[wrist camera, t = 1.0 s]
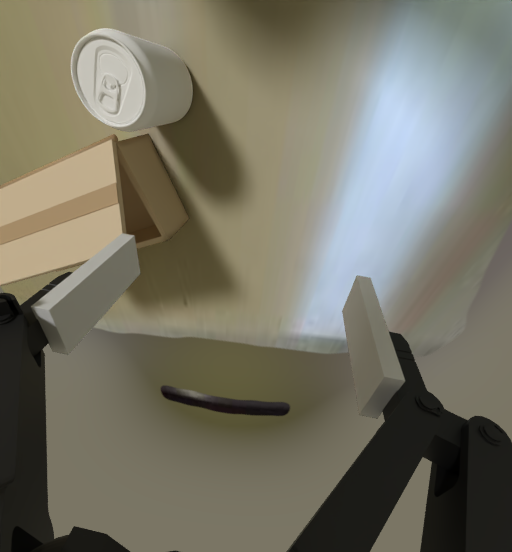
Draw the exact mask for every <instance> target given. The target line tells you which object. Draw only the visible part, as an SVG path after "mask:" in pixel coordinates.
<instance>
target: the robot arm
mask: <svg viewBox="0 0 512 552" xmlns="http://www.w3.org/2000/svg"><path fill="white" fill-rule="evenodd" d="M139 275H140V267H139V260H138V254H137V248H136V242H135V236H134V235H129V234H123V233H122V234H121V235H119V236H118V237H117V238H116V239H114V240H113V241H112V242H111V243H109V244H108V245H107V246H106V247H104V248H103V249H102V250H101V251H99V252H98V253H97V254H96V255H94V256H93V257H92V258H91V259H89V260H88V261H87V262H86V263H84V264H83V265H82V266H81V267H79V268H78V269H77V270H76V271H75V272H67V273H65V274H63V275H61V276H58V277H57V278H55V279H54V280H53V281H52V282H50V283H49V285H46V286H45V287H44V288H42V290H40V291H39V292H37V293H36V294H35V295H33V296H32V297H31V298H29V299H28V300H27V301H26V302H24V303H23V304H22V305H19V303H18V301H17V299H16V298H15V296H14V295H12V294H9V293H0V552H130V551H129V550H127V549H126V548H125V547H123V546H122V545H120V544H119V543H118V542H116V541H115V540H114V539H112V538H111V537H110V536H108V535H107V534H104V533H100V532H96V531H92V530H88V529H83V528H79V527H75V526H74V527H73V529H72V531H71V533H70V535H66V536H62V537H58V538H56V539H54V532H53V527H52V523H51V520H50V517H49V512H48V492H47V446H46V400H45V357H44V356H45V354H44V352H43V350H42V349H43V348H44V347H45V346H46V345H47V344H48V343H49V345H50V347H51V349H52V351H53V352H57V353H62V354H67V355H69V354H70V353H71V352H72V350H73V349H74V348H75V347H76V346H77V345H78V343H80V341H81V340H82V339H83V338H84V337H85V336H86V335H87V333H88V332H89V331H90V330H91V329H92V328H93V327H94V326H95V324H96V323H97V322H98V321H99V320H100V319H101V318H102V316H103V315H104V314H105V313H106V312H107V311H108V310H109V309H110V307H111V306H112V305H113V304H114V303H115V302H116V301H117V299H118V298H119V297H120V296H121V295H122V294H123V293H124V292H125V290H126V289H127V288H128V287H129V286H130V285H131V284H132V282H133V281H134V280H135V279H136V278H137V277H138V276H139ZM342 312H343V319H344V325H345V331H346V337H347V343H348V349H349V355H350V361H351V368H352V373H353V380H354V386H355V392H356V398H357V404H358V411H359V415H362V416H367V417H372V418H376V419H377V418H378V417H379V416H380V414H381V413H382V412H383V415H384V419H385V422H384V423H383V425H382V426H381V427H380V428H379V430H378V431H377V432H376V434H375V435H374V436H373V438H372V439H371V441H370V442H369V443H368V444H367V446H366V447H365V448H364V450H363V451H362V452H361V454H360V455H359V456H358V458H357V459H356V460H355V462H354V463H353V464H352V466H351V467H350V468H349V470H348V471H347V472H346V474H345V475H344V476H343V478H342V479H341V480H340V481H339V483H338V484H337V485H336V487H335V488H334V490H333V491H332V492H331V493H330V495H329V496H328V497H327V499H326V500H325V501H324V503H323V504H322V505H321V507H320V508H319V509H318V511H317V512H316V513H315V515H314V516H313V517H312V519H311V520H310V521H309V523H308V524H307V525H306V527H305V528H304V529H303V531H302V532H301V533H300V535H299V536H298V537H297V539H296V540H295V541H294V542H293V544H292V545H291V547H290V548H289V549H288V550H287V552H370V550H371V548H372V546H373V544H374V543H375V541H376V539H377V538H378V536H379V534H380V532H381V530H382V529H383V527H384V525H385V523H386V521H387V520H388V518H389V516H390V514H391V512H392V510H393V509H394V507H395V505H396V503H397V502H398V500H399V498H400V496H401V495H402V493H403V491H404V489H405V487H406V486H407V484H408V482H409V480H410V478H411V477H412V475H413V473H414V471H415V469H416V468H417V466H418V464H419V462H420V460H421V459H422V457H424V458H426V459H428V460H430V461H432V466H431V474H430V481H429V489H428V496H427V504H426V512H425V519H424V527H423V535H422V543H421V550H420V552H512V442H511V440H510V438H509V437H508V436H507V434H506V433H505V431H504V430H503V429H502V428H500V426H498V425H497V424H496V423H494V422H493V421H491V420H490V419H487V418H485V417H482V416H474V417H472V418H470V419H469V420H466V419H464V418H461V417H459V416H457V415H455V414H453V413H451V412H449V411H447V410H445V409H444V407H443V405H442V404H441V402H440V401H439V400H438V399H437V398H436V397H435V396H434V395H433V394H432V393H430V392H428V391H427V389H426V387H425V385H424V382H423V380H422V377H421V374H420V372H419V369H418V367H417V364H416V362H415V360H414V357H413V354H411V353H412V352H411V349H410V347H409V344H408V342H407V341H406V340H405V339H404V338H403V336H402V335H401V334H398V333H393V332H389V331H388V328H387V325H386V322H385V319H384V316H383V313H382V310H381V308H380V305H379V302H378V299H377V296H376V293H375V290H374V287H373V284H372V281H371V278H368V277H363V276H356V279H355V281H354V284H353V286H352V289H351V291H350V293H349V296H348V298H347V301H346V303H345V306H344V308H343V311H342ZM170 552H178V551H170Z"/></svg>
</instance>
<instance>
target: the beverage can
mask: <svg viewBox="0 0 512 552" xmlns="http://www.w3.org/2000/svg"><path fill="white" fill-rule="evenodd" d="M71 74H72V79H73V83H74V86H75V89H76V92H77V94H78V96H79V98H80V100H81V101H82V103H83V104H84V106H85V107H86V108H87V110H88V111H89V112H90V113H91V114H92V115H93V116H94V117H95V118H97V119H98V120H99V121H101V122H103V123H104V124H106V125H109V126H110V127H112V128H115V129H117V130H121V131H127V132H131V131H137V130H142V129H146V128H151V127H156V126H160V125H165V124H169V123H174V122H176V121H179V120H180V119H182V118H183V117H184V116H185V115H186V113H187V112H188V110H189V108H190V106H191V102H192V97H193V86H192V80H191V77H190V74H189V71H188V69H187V67H186V65H185V63H184V62H183V60H182V59H181V58H180V57H179V56H178V55H177V54H176V53H175V52H174V51H172V50H171V49H169V48H167V47H165V46H162V45H159V44H156V43H153V42H150V41H147V40H144V39H142V38H139V37H136V36H133V35H130V34H127V33H124V32H121V31H118V30H115V29H110V28H102V29H97V30H94V31H92V32H90V33H89V34H87V35H86V36H84V37H83V38H81V39H80V40H79V41H78V43H77V44H76V46H75V48H74V50H73V53H72V58H71Z"/></svg>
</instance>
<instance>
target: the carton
mask: <svg viewBox="0 0 512 552" xmlns="http://www.w3.org/2000/svg"><path fill="white" fill-rule="evenodd" d="M116 148H117V157H118V165H119V174H120V182H121V191H122V199H123V208H124V216H125V225H126V233H127V234H129V235H134V236H135V242H136V248H137V249H139V248H143V247H146V246H150V245H153V244H157V243H160V242H164V241H167V240H170V239H171V238H172V237H173V235H174V234H175V233H176V232H177V231H178V230H179V229H180V228H181V227H182V226H183V225H184V224H185V223H186V221H187V220H188V219H189V217H188V214H187V212H186V210H185V208H184V206H183V204H182V202H181V200H180V198H179V196H178V194H177V192H176V190H175V188H174V186H173V184H172V182H171V179H170V177H169V175H168V173H167V171H166V169H165V167H164V165H163V163H162V161H161V159H160V157H159V155H158V153H157V151H156V149H155V147H154V145H153V142H152V140H151V138H150V136H149V134H145V135H141V136H137V137H134V138H130V139H126V140H122V141H118V142H116ZM85 263H86V262H85ZM82 264H84V263H81V264H78V265H74V266H71V267H67V268H64V269H60V270H57V271H61V270H65V269H68V268H72V267H75V266H79V265H82ZM57 271H56V272H57Z"/></svg>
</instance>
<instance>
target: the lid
mask: <svg viewBox="0 0 512 552" xmlns="http://www.w3.org/2000/svg"><path fill="white" fill-rule="evenodd" d="M116 142H118V138H117V136H116V135H114V134H113V135H111V136H109V137H107V138H104V139H102V140H100V141H98V142H95V143H93V144H91V145H89V146H87V147H84V148H82V149H80V150H78V151H76V152H73V153H71V154H69V155H67V156H65V157H62V158H60V159H58V160H56V161H54V162H51V163H49V164H47V165H45V166H42V167H40V168H38V169H36V170H34V171H31V172H29V173H27V174H25V175H23V176H20V177H18V178H16V179H14V180H12V181H9V182H7V183H5V184H3V185H1V186H0V286H4V285H7V284H11V283H14V282H18V281H21V280H25V279H28V278H32V277H36V276H39V275H43V274H46V273H50V272H53V271H57V270H60V269H64V268H67V267H71V266H74V265H78V264H81V263H85V262H87V261H88V260H89V259H91V258H92V257H93V256H94V255H96V254H97V253H98V252H99V251H101V250H102V249H103V248H104V247H106V246H107V245H108V244H109V243H111V242H112V241H113V240H114V239H116V238H117V237H118V236H119V235H121V234H122V233H123V234H127V233H126V225H125V216H124V208H123V199H122V191H121V182H120V174H119V165H118V157H117V148H116Z"/></svg>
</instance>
